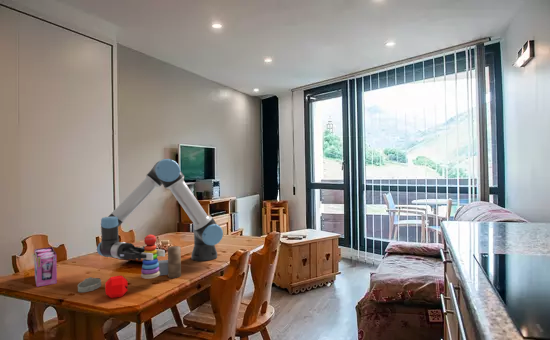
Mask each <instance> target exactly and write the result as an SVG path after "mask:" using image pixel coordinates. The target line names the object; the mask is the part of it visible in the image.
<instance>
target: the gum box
mask: <svg viewBox="0 0 550 340" xmlns="http://www.w3.org/2000/svg"><path fill="white" fill-rule="evenodd" d="M33 252H34V253H33V254H34V255H33V256H34V280H35V285H36V287H37V288H38V287H43V286H49V285H54V284H55V285H56V284H57V283H58V282H57V281H58V273H57V272H58V270H57V267H58V266H57V252H56V250H55V249H54V247H53V246H48V247H41V248H35V249H34V250H33Z"/></svg>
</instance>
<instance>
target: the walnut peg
mask: <svg viewBox="0 0 550 340" xmlns="http://www.w3.org/2000/svg"><path fill="white" fill-rule="evenodd" d="M181 249H182V247H181V246H179V245H174V246H168V247H167V260H168V275H167V277H168V278H170V279H177V278H180V277H182V253H181Z"/></svg>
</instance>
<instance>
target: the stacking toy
mask: <svg viewBox="0 0 550 340" xmlns="http://www.w3.org/2000/svg"><path fill="white" fill-rule="evenodd" d="M143 242H144V244H145V245H144V246H145V247H144V249H145V251H144V253H152V254H153V260H146V259H142V266H141V270H140V271H141V274H140V278H142V279H150V280H151V279H154V278H157V277H159V275H160V272H159V267H158V266H159V263H158V261H159V259H158V257H159V256H158V255H157V254H156V253H157V251H156V250H155V249H156V248H157V245H155V244H156V242H157V237H156V235H154V234H147V235H146V236H145V237H144V241H143ZM160 276H161V275H160Z"/></svg>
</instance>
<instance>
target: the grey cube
mask: <svg viewBox="0 0 550 340" xmlns="http://www.w3.org/2000/svg"><path fill="white" fill-rule="evenodd" d="M158 263H159V266H158V267H159V272H160V275H159V276H168V259H164V260H163V259H162V260H158ZM159 276H158V277H159Z"/></svg>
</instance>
